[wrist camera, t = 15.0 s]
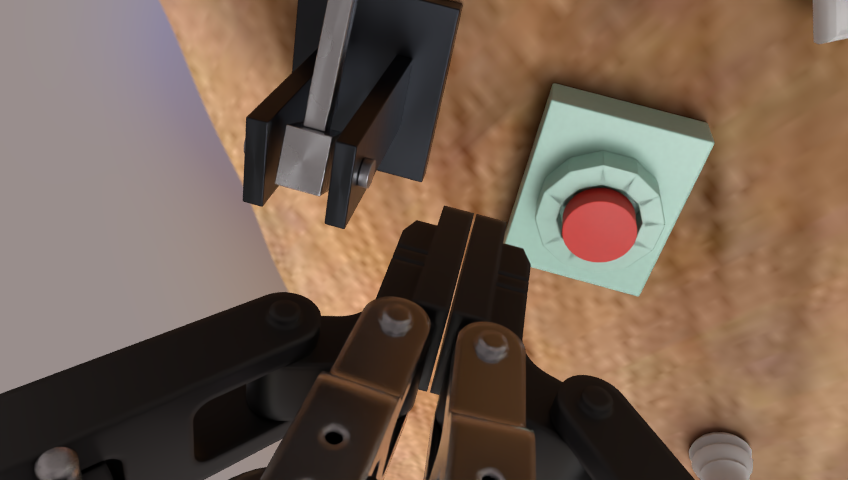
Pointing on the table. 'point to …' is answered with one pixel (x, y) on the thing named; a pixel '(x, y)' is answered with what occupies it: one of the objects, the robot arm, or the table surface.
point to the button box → (605, 180)
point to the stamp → (830, 20)
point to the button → (599, 225)
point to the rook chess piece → (721, 457)
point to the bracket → (362, 98)
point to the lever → (318, 109)
